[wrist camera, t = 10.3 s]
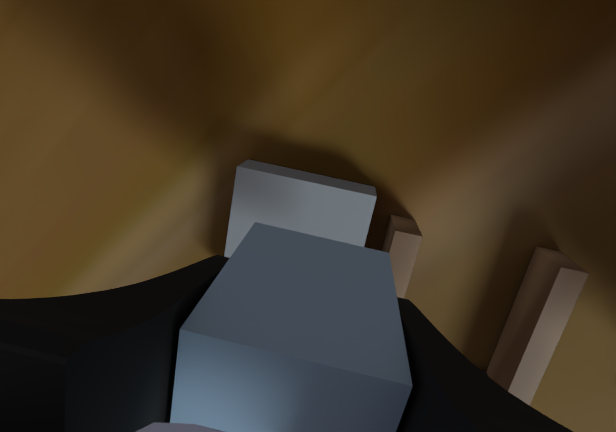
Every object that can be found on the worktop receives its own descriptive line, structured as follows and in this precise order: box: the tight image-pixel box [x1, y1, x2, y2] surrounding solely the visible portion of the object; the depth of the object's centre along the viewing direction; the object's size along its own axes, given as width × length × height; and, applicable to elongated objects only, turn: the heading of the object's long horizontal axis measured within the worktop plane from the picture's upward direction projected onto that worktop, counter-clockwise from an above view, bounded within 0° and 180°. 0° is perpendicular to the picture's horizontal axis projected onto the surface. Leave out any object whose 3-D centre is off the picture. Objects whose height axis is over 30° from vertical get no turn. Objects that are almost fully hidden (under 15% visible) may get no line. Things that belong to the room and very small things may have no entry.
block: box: [170, 222, 413, 432], centre depth 11 cm, size 4×4×6 cm
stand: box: [224, 159, 377, 258], centre depth 20 cm, size 6×6×2 cm
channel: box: [381, 215, 589, 405], centre depth 20 cm, size 8×10×2 cm
